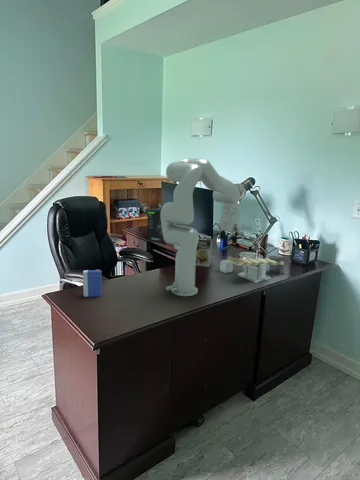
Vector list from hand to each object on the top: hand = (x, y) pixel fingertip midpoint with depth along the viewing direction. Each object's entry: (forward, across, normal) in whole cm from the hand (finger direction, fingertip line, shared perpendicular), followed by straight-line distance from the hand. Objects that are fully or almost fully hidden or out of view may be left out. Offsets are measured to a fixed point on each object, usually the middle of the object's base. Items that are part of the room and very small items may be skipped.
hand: (228, 240), depth 189 cm
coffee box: (+18, -16, -5) cm, 25 cm away
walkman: (+17, -4, -77) cm, 79 cm away
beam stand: (+18, +15, +13) cm, 27 cm away
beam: (+11, +15, +8) cm, 20 cm away
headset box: (+18, -80, +6) cm, 82 cm away
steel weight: (+18, 0, 0) cm, 18 cm away
